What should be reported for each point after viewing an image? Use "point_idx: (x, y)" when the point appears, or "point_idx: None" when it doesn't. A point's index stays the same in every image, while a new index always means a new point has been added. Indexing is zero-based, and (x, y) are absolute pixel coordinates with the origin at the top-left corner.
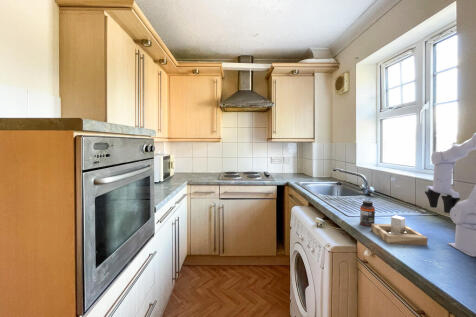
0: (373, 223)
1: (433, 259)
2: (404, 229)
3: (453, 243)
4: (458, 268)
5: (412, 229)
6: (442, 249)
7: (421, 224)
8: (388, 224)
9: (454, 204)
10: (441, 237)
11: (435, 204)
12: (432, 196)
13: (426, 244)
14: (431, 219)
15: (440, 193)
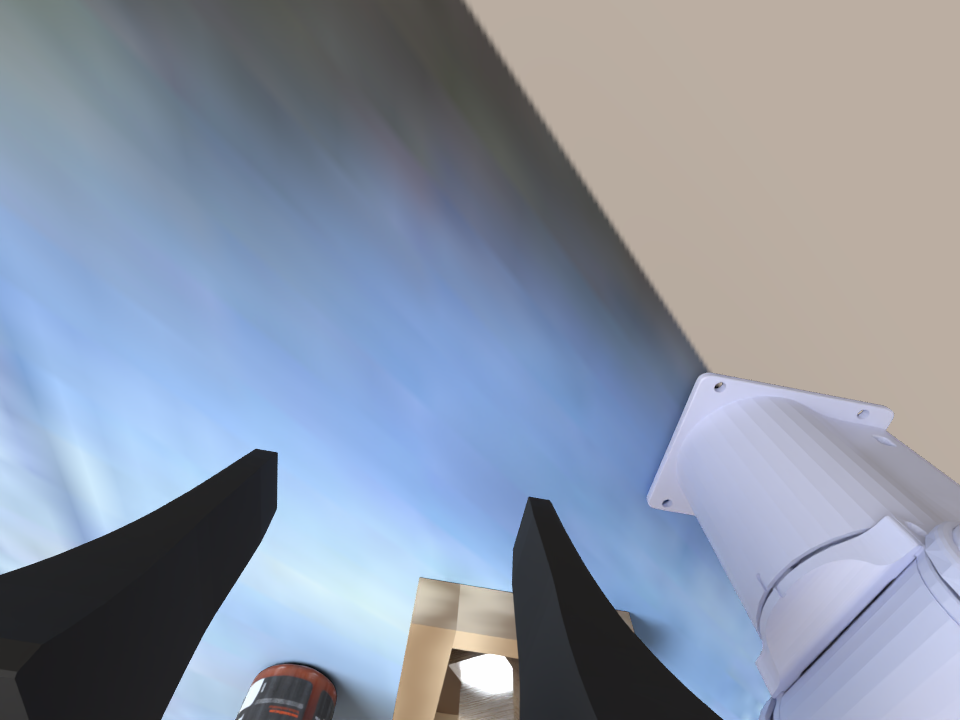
0: (326, 698)
1: (756, 690)
2: (514, 697)
3: (667, 483)
4: None
5: (502, 640)
6: (691, 581)
7: (249, 340)
8: (401, 700)
9: (613, 623)
10: (540, 435)
11: (250, 498)
12: (156, 681)
13: (628, 618)
14: (34, 59)
15: (59, 643)
